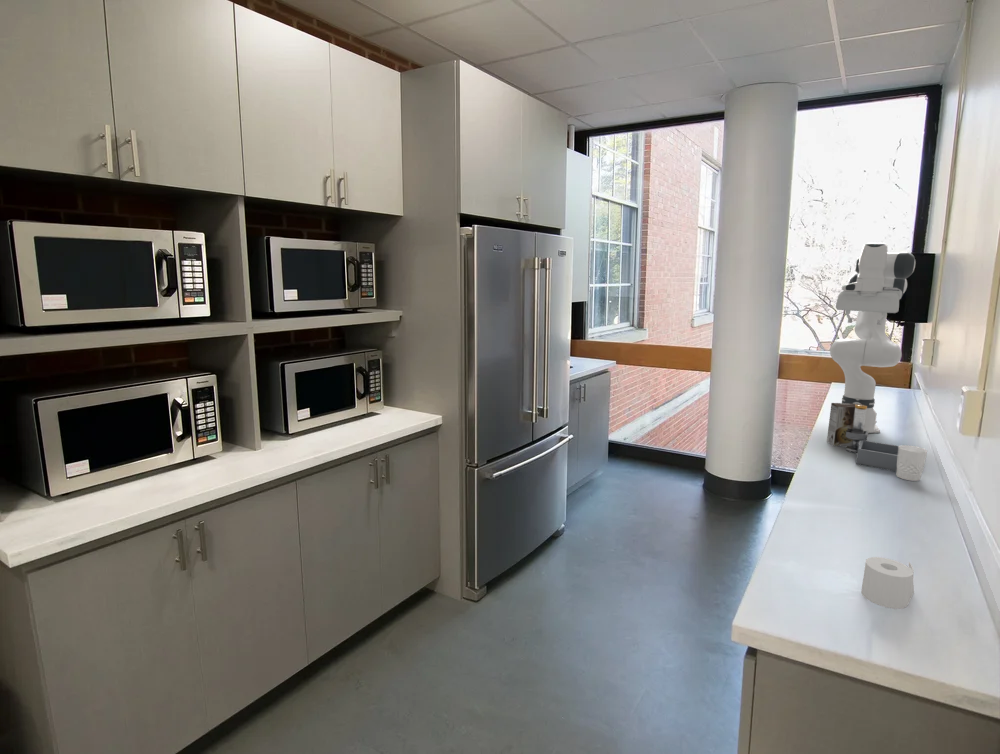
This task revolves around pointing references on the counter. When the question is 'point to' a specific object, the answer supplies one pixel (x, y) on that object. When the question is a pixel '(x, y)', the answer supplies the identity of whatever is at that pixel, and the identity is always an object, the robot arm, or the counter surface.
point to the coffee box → (840, 423)
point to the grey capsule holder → (855, 440)
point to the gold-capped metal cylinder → (859, 419)
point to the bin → (877, 455)
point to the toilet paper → (888, 582)
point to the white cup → (910, 462)
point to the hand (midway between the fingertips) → (864, 323)
